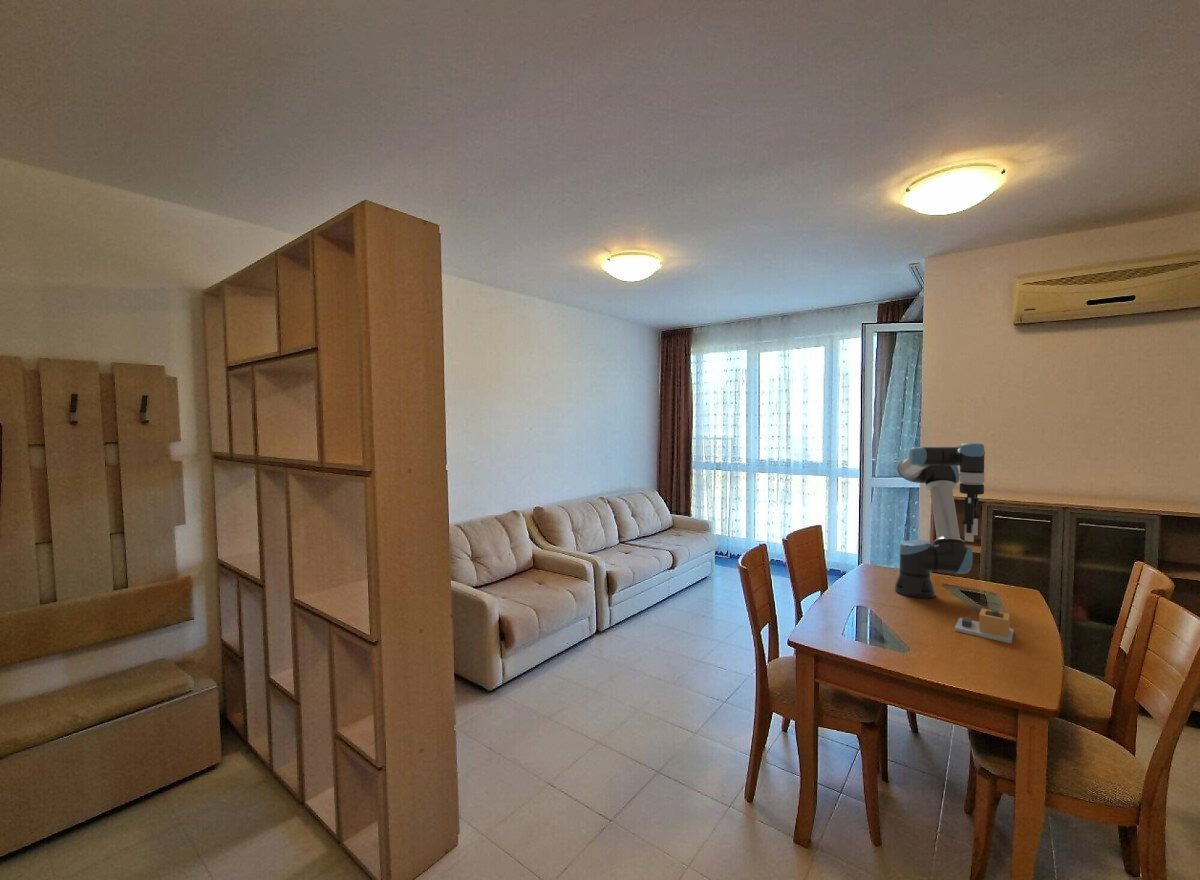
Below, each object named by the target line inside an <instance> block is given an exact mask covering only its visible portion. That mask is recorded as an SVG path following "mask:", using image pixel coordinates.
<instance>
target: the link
mask: <svg viewBox="0 0 1200 880" xmlns="http://www.w3.org/2000/svg"><path fill="white" fill-rule="evenodd" d="M991 610H992V609H988V608H983V607H982V608H981V609H980V611H979V613H978V614H979V616H978V617H979V620H978V622H979V631H981V632H986V633H990V634H995V635H999V636H1004V637H1008V635H1009V628H1010V627H1011V625H1010V620H1011V619H1010V616H1011V615H1010V614H1011V613H1008V612H1004V611H998V610H997V611H998V612H999V617H995V616H990V612H991Z"/></svg>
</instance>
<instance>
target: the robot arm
mask: <svg viewBox="0 0 1200 880" xmlns="http://www.w3.org/2000/svg"><path fill="white" fill-rule="evenodd" d="M985 454H986V451H985V446H984V444H983V443H979V442H978V443H976V442H975V443H974V442H973V443H972V442H971V443H970V442H967V443H966V442H965V443H963V442H962V443H961V444H960V445H959V446H947V447H946V446H939V447H938V446H936V447H935V446H930V447H929V446H916V447H915V446H913V447H911V448H910V449H909V455H908V456H909V457H906V458H903V459H902V460H901V461H899V463H898V465H897V468H896V470H897V473H898V475H899V476H900V477H901V478H903V479H904V480H905V481H909V482H911V483H917V484H919V483H920V484H925V488H926V489H928V490H929V491H930V497H931V498H930V499H931V506H932V512H933V520H934V526H935V527H934V528H935V535H936V539H935V540H933V544H932V543H931V542H930V541H929V540H926V539H923V540H922V539H911V540H910V539H909V540H905V541H901V543H900V544H899V551H898V554H899V574H898V577H897V579H896V582H895V584H894V591H895V592H896V593H898V594H900V595H902V596H906V597H910V598H916V599H932V598H934V597H935V596H936V590H935V586H934V585H933V582H932V578H931V572H936V573H947V574H956V575H957V574H960V575H961V574H962V575H963V574H968V573H969V572H970V571H971V569H972V566H973V559H974V558H973V557H974V556H973V555H974V554H973V550H972V548H971V547H970V546H967V545H966V542H970V543H974V541H975V537H974V536H979V535H978V531H979V530H978V529H979V527H978V526H979V524H978V523H979V519H981V515H979V501H980V499H979V498H978V496H979V495H983V494H984V493H985V485H984V483H985ZM959 482H960V483H959ZM958 483H959V493H960V494H965V495H966V497H965V498H964V520H962V525H963V524H964V539H962V538H961V536H960V527H959V522H958V516H957V509H956V504H955V498H954V490H953V489H955V487H956V486H957V484H958Z"/></svg>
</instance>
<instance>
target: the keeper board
mask: <svg viewBox="0 0 1200 880" xmlns="http://www.w3.org/2000/svg"><path fill="white" fill-rule="evenodd" d="M990 610H991V612H990V616H995V617H999V612H1000V611H999V612H998V610H996V609H995V610H994V609H990ZM954 631H955V632H959V633H964V634H968V635H971V636H977V637H981V638H985V639H988V640H989V639H990V640H993V641H994V640H995V641H998V642H999V641H1000V642H1003V643H1008V644H1011V645H1012V643H1013V639H1014V638H1013V637H1014V628H1011V627H1009V635H1008V637H1004V636H999V635H995V634H990V633H986V632H981V631H979V620H977V621H976V620H973V618H972V617H969V616H963V617H958V620H957V622H956V624H955V625H954Z"/></svg>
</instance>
